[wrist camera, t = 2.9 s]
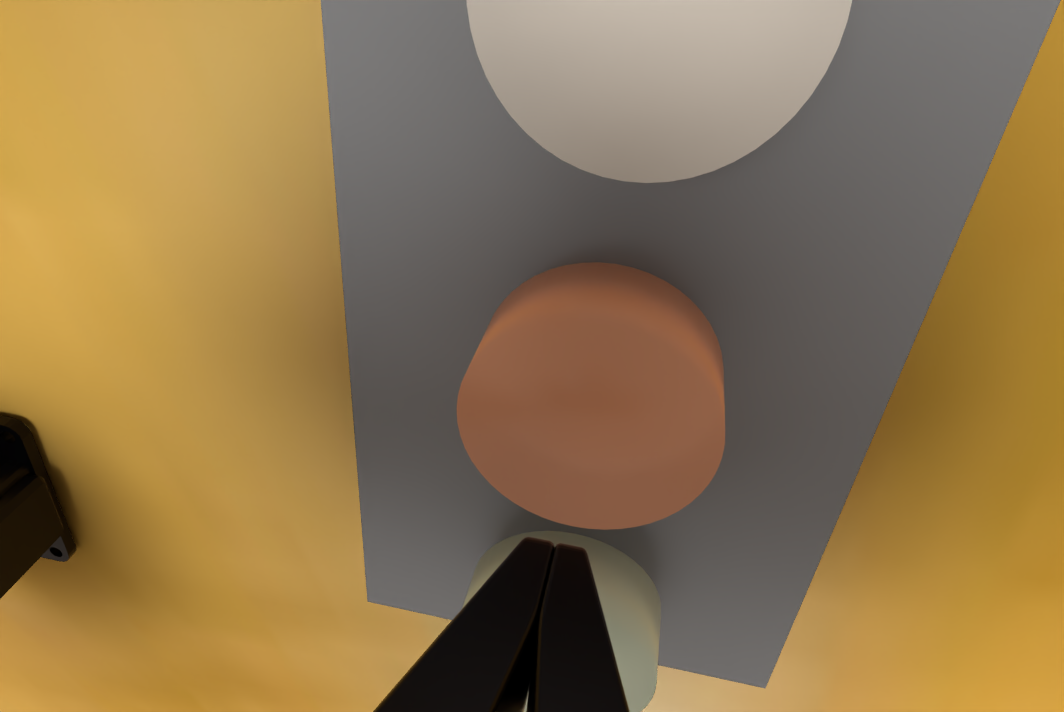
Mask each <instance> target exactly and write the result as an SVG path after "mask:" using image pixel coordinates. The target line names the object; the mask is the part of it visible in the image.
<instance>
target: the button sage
mask: <svg viewBox="0 0 1064 712" xmlns="http://www.w3.org/2000/svg"><path fill="white" fill-rule="evenodd" d="M526 537H533V538H538V539H543V540H548V541H551V542H552V543H553V544H554V548H555V546H556V545H557V544H559V543H563V544H568V545H573V546H578V547H582V548H584V549H585V550H586V552H587V554H588V557H589V561H590V565H591V568H592V572H593V576H594V580H595V583H596V587H597V591H598V595H599V598H600V602H601V606H602V610H603V613H604V617H605V621H606V625H607V628H608V632H609V636H610V640H611V643H612V647H613V651H614V655H615V658H616V662H617V666H618V670H619V673H620V677H621V681H622V685H623V688H624V692H625V696H626V700H627V703H628V707H629V711H630V712H641V711H642V710H643V709H644V708H645V707H646V706H647V705H648V703H649V702H650V701H651V699H652V697H653V695H654V692H655V689H656V683H657V668H658V652H659V637H660V621H661V602H660V597H659V594H658V591H657V589H656V587H655V585H654V583H653V581H652V580H651V578H650V577H649V575H648V574H647V573H646V572H645V571H644V570H643V568H642V567H640V566H639V565H638V564H637V563H636V562H635V561H634V560H633V559H631V558H630V557H628V556H627V555H626V554H624V553H623V552H621V551H619V550H618V549H616V548H614V547H612V546H610V545H608V544H606V543H603V542H601V541H598V540H596V539H593V538H590V537H587V536H582V535H578V534H574V533H567V532H560V531H535V532H528V533H523V534H519V535H515V536H512V537H509V538H507V539H504V540H502V541H500V542H499V543H497V544H495V545H494V546H492V547H491V548H490V549H489V550H487V551H486V552H485V554H484V555H483V556H482V557H481V558H480V560H479V562H478V563H477V566H476V568H475V571H474V574H473V577H472V580H471V583H470V586H469V589H468V592H467V595H466V598H465V601H464V604H463V607H464V606H465V605H466V604H467V603H468V601H469V600H470V599H471V598H472V597H473V596H474V594H475V593H476V592H477V591H478V590H479V589H480V588H481V586H482V585H483V584H484V583H485V582H486V581H487V579H488V578H489V577H490V576H491V575H492V574H493V573H494V571H495V570H496V569H497V568H498V567H499V566H500V564H501V563H502V562H503V561H504V560H505V559H506V557H507V556H508V555H509V554H510V553H511V552H512V551H513V549H514V548H515V547H516V546H517V545H518V544H519V542H520V541H521V540H522V539H524V538H526ZM463 607H462V608H463ZM528 693H529V692H528ZM527 701H528V697H527ZM527 701H526V705H525V709H524V712H526V709H527Z"/></svg>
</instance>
